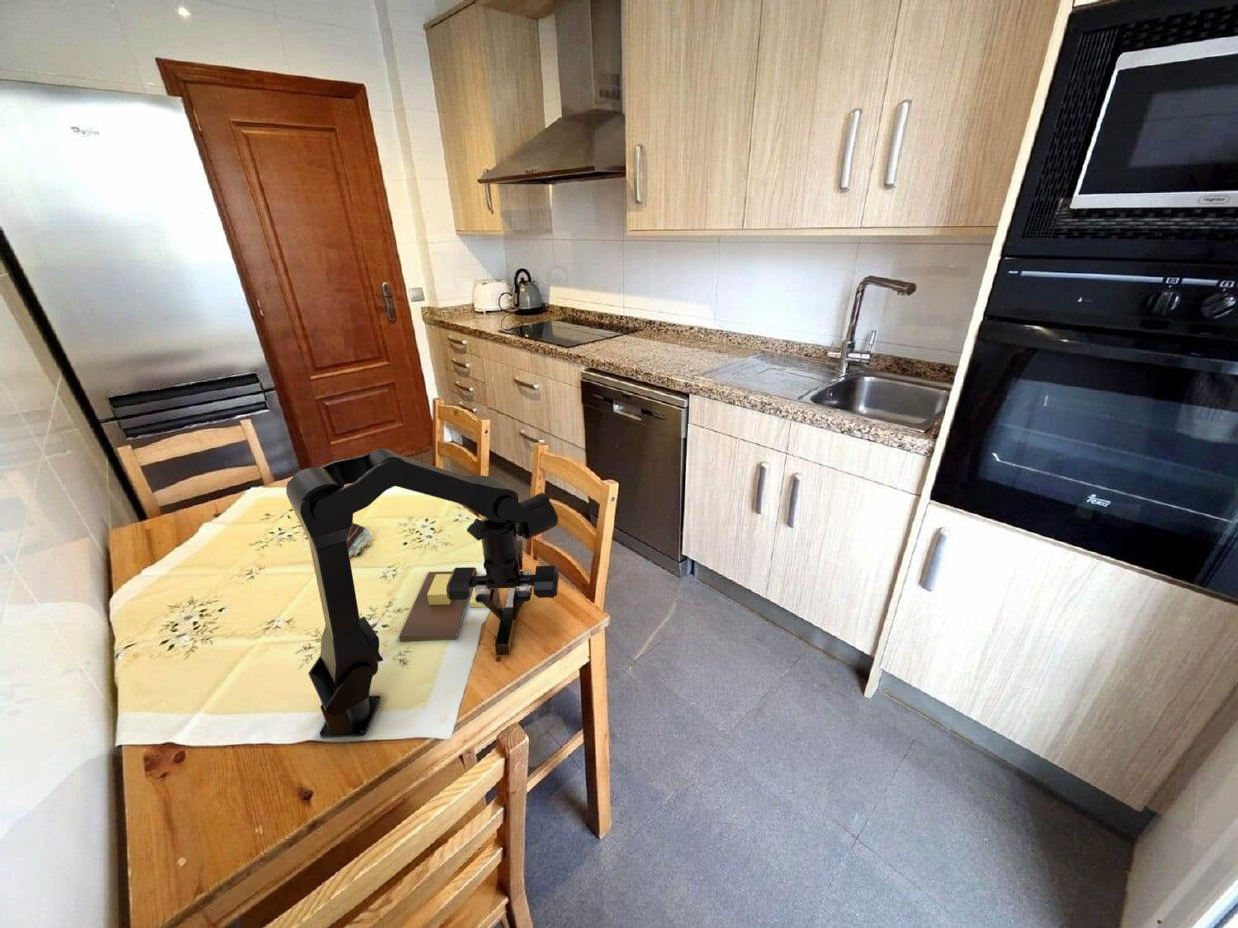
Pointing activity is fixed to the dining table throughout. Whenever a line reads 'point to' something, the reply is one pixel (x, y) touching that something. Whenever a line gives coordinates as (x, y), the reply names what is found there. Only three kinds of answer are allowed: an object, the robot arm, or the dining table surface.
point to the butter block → (439, 590)
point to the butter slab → (473, 601)
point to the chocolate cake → (358, 539)
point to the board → (433, 616)
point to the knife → (506, 627)
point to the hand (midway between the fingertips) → (508, 618)
